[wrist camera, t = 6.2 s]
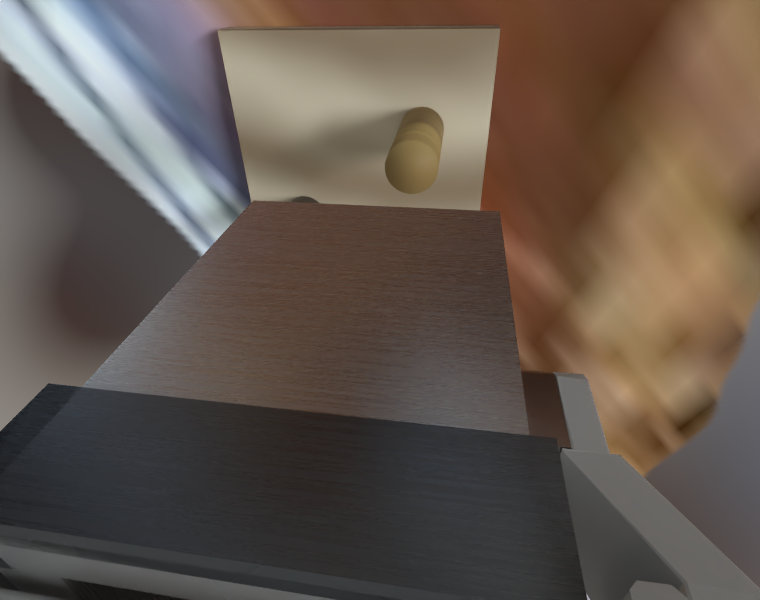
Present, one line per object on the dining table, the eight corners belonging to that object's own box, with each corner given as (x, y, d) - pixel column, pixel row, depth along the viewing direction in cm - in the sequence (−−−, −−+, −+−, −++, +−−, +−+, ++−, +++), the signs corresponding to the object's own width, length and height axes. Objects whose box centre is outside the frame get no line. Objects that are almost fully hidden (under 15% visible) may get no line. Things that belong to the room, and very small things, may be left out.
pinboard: (228, 27, 21) (155, 47, 16) (498, 25, 19) (509, 47, 14) (270, 255, 28) (228, 318, 23) (471, 268, 26) (472, 338, 22)
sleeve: (242, 191, 10) (-80, 511, 4) (512, 202, 9) (590, 616, 3) (280, 378, 13) (130, 706, 7) (481, 398, 12) (493, 781, 6)
